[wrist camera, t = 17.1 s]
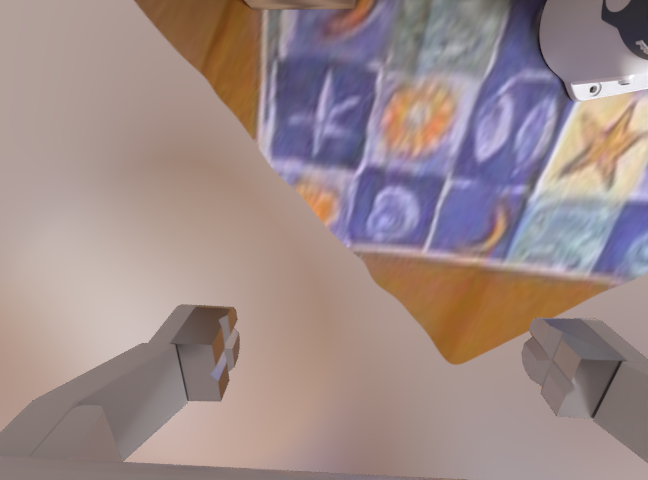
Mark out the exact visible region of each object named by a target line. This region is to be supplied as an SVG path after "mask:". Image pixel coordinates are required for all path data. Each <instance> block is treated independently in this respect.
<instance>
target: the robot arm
mask: <svg viewBox="0 0 648 480" xmlns="http://www.w3.org/2000/svg"><path fill="white" fill-rule="evenodd" d="M540 46H541V50H542V54H543V56H544V59H545V61H546V63H547V64H548V66H549V67H550V68H551V70H552V71H553V72H554V73H556V74H557V75H558V76H559V77H560V78H561V79H562V80H563V81H564V83H565V86H566V89H567V92H568V94H569V96H570V98H571V99H572V100H573V101H575V102H580V101H585V100H591V99H596V98H601V97H607V96H612V95H617V94H623V93H628V92H633V91H639V90H644V89H648V0H547V2H546V4H545V7H544V10H543V14H542V17H541V23H540ZM591 87H593V91H592V92H590V88H591ZM236 322H237V313H236V309H235V308H234V307H224V306H223V307H222V306H205V305H199V306H198V305H179V306H177V307H176V308H175V310H174V311H173V312H172V313H171V315H170V316H169V317H168V319H167V320H166V321H165V322H164V324H163V325H162V326H161V327H160V329H159V330H158V331H157V332H156V334H155V335H154V336H153V337H152V339H151V340H150V341H149V342H148V343H142V344H139V345H138V346H136V347H134V348H132V349H130V350H128V351H126V352H124V353H122V354H120V355H118V356H116V357H115V358H113V359H111V360H109V361H107V362H105V363H103V364H101V365H99V366H97V367H96V368H94V369H92V370H90V371H88V372H86V373H84V374H82V375H80V376H79V377H77V378H75V379H73V380H71V381H69V382H67V383H65V384H63V385H61V386H59V387H58V388H56V389H54V390H52V391H50V392H48V393H46V394H44V395H42V396H40V397H38V398H37V399H35V400H33V401H32V402H31V403H30V404H29V405H28V406H27V407H26V408H25V409H24V410H23V411H22V412H21V413H19V415H17V416H16V417H15V418H14V419H13V420H12V421H11V422H10V423H9V424H8V425H7V426H6V427H5V428H4V429H3V430H2V431H1V432H0V480H465V479H444V478H424V477H406V476H385V475H367V474H346V473H328V472H308V471H289V470H269V469H250V468H231V467H210V466H192V465H172V464H151V463H132V462H123V461H124V460H125V459H126V458H128V457H129V456H130V455H131V454H132V453H133V452H134V451H135V450H136V449H137V448H138V447H140V446H141V445H142V444H143V443H144V442H145V441H146V440H147V439H149V438H150V437H151V436H152V435H153V434H154V433H155V432H156V431H157V430H158V429H160V428H161V427H162V426H163V425H164V424H165V423H166V422H167V421H168V420H169V419H171V418H172V416H174V415H175V414H176V413H177V412H178V411H179V410H180V409H182V408H183V407H184V406H185V405H186V404H187V403H188V401H221V400H222V398H223V395H224V393H225V390H226V388H227V385H228V382H229V373H228V372H229V371H230V370H231V369H233V368H234V367H235V365H236V362H237V359H238V354H239V348H240V337H239V332H238V331H237V330H236V329H235V328H234V326H235V324H236ZM529 331H530V333H531V335H532V337H531V338H530V339H529V340H528V341H526V342H525V343H524V347H523V350H522V362H523V365H524V368H525V371H526V372H527V374H528V376H529V377H530V379H531V380H533V381H535V382H536V383H538V384H539V385H540V386H542V389H541V395H542V396H543V397H544V399H545V400H546V402H547V403H548V405H549V406H550V407H551V409H552V410H553V412H554V413H555V415H556V416H559V417H573V418H587V419H593V421H594V422H595V423H597V424H598V425H599V426H601V427H602V428H603V429H604V430H606V431H607V432H608V433H610V434H611V435H612V436H613V437H615V438H616V439H617V440H619V441H620V442H621V443H622V444H624V445H625V446H626V447H628V448H629V449H630V450H632V451H633V452H634V453H635V454H637V455H638V456H639V457H640V458H642V459H643V460H644V461H646V462H647V463H648V359H647V358H646V357H645V356H643V355H642V354H641V353H640V352H638V351H637V350H636V349H635V348H634V347H633V346H631V345H630V344H629V343H628V342H627V341H625V340H624V339H623V338H622V337H621V336H619V335H618V334H617V333H616V332H615V331H613V330H612V329H611V328H610V327H609V326H607V325H606V324H605V323H604V322H603V321H601V320H598V319H595V318H574V319H565V318H563V319H562V318H561V319H560V318H535V319H534V320H533V321H532V322H531V325H530V328H529Z"/></svg>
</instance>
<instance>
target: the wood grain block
mask: <svg viewBox="0 0 648 480" xmlns="http://www.w3.org/2000/svg"><path fill="white" fill-rule="evenodd" d="M244 1H245V2H246V3H247V4H248V5H249V6H250V7H251V8H252V9H355V4H356V0H244Z"/></svg>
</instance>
